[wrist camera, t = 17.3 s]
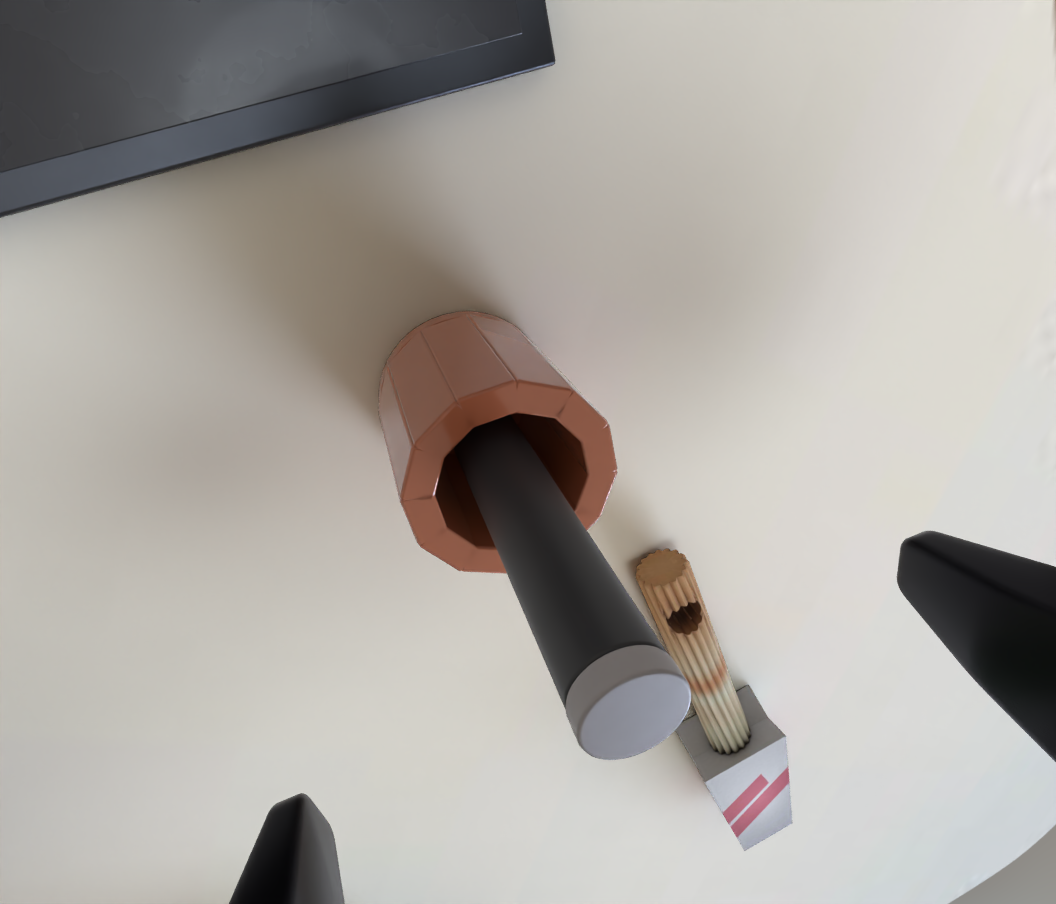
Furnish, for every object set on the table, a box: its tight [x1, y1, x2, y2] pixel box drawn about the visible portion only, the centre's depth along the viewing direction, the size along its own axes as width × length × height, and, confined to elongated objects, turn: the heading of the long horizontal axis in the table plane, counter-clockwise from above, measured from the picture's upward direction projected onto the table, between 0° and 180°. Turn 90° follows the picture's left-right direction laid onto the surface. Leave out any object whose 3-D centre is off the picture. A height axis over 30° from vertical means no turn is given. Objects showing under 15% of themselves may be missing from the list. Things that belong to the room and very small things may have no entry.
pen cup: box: [378, 312, 617, 573], centre depth 15 cm, size 5×5×5 cm
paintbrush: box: [636, 549, 792, 851], centre depth 27 cm, size 4×3×20 cm
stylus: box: [453, 415, 691, 760], centre depth 13 cm, size 2×2×10 cm
